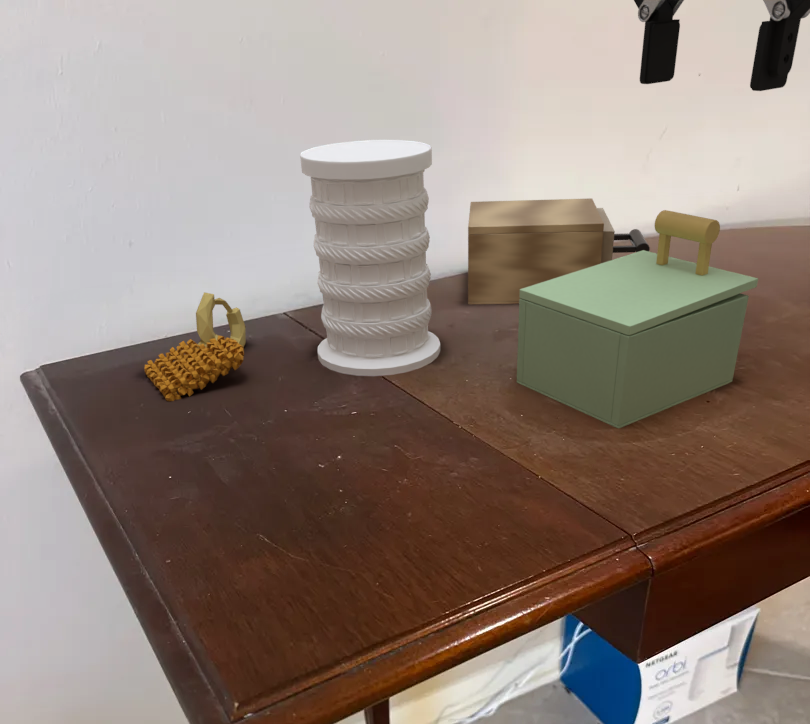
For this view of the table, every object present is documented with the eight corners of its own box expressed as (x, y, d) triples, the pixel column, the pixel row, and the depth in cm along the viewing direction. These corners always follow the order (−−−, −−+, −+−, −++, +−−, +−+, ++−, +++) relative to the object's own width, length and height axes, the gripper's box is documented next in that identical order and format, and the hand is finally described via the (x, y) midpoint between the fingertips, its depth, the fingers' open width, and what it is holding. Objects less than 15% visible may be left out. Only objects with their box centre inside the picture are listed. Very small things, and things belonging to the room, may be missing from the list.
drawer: (633, 268, 94) (640, 206, 90) (648, 296, 86) (656, 229, 82) (489, 271, 96) (490, 210, 92) (489, 299, 87) (490, 233, 83)
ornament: (199, 357, 65) (265, 265, 75) (98, 374, 69) (173, 284, 79) (237, 424, 69) (295, 328, 79) (140, 436, 73) (206, 344, 83)
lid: (642, 258, 72) (648, 199, 69) (757, 287, 64) (768, 222, 61) (519, 297, 65) (520, 235, 63) (629, 335, 57) (635, 265, 55)
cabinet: (586, 275, 96) (592, 198, 91) (596, 307, 86) (604, 223, 81) (470, 278, 97) (470, 201, 92) (468, 309, 87) (468, 226, 83)
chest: (625, 350, 76) (635, 265, 72) (731, 388, 68) (749, 295, 64) (515, 388, 70) (519, 298, 65) (617, 435, 62) (628, 336, 57)
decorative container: (300, 351, 79) (275, 149, 69) (405, 328, 83) (396, 134, 73) (348, 392, 71) (328, 168, 61) (463, 364, 75) (462, 150, 65)
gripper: (931, -265, 45) (851, 86, 55) (680, -204, 57) (650, 75, 67) (854, -278, 42) (783, 98, 51) (604, -210, 54) (585, 85, 63)
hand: (708, 85), depth 59 cm, fingers open, 9 cm apart
